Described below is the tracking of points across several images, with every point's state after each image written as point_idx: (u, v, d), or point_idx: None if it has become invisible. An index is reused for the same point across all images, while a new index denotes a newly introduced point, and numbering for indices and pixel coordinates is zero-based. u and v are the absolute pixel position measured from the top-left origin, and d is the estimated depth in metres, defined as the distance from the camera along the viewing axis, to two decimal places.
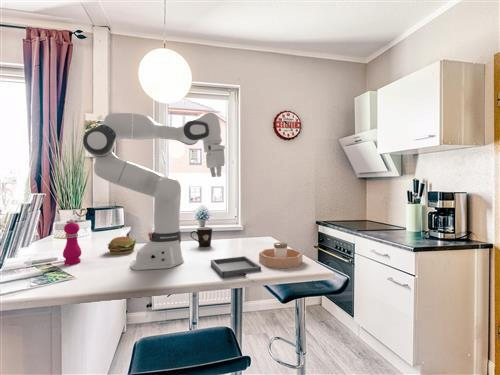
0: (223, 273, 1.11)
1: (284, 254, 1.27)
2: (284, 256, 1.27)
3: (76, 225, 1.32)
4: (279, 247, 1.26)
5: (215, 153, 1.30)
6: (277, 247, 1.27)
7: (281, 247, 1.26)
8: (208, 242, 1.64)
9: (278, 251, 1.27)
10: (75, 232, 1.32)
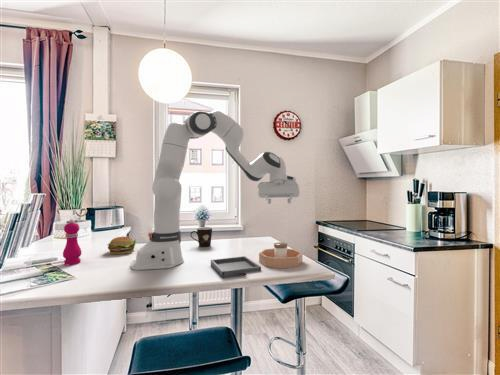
0: (223, 273, 1.11)
1: (284, 254, 1.27)
2: (284, 256, 1.27)
3: (76, 225, 1.32)
4: (279, 247, 1.26)
5: None
6: (277, 247, 1.27)
7: (281, 247, 1.26)
8: (208, 242, 1.64)
9: (278, 251, 1.27)
10: (75, 232, 1.32)
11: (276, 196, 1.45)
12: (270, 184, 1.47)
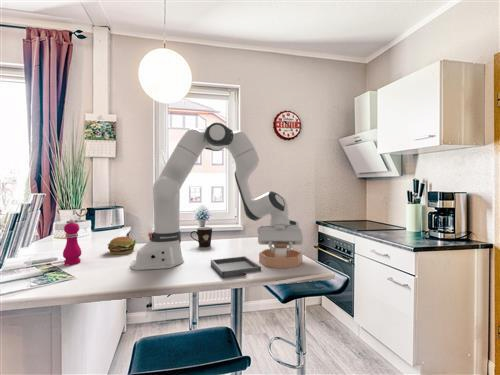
0: (223, 273, 1.11)
1: (284, 254, 1.27)
2: (284, 256, 1.27)
3: (76, 225, 1.32)
4: (279, 247, 1.26)
5: (300, 230, 1.34)
6: (277, 247, 1.27)
7: (281, 247, 1.26)
8: (208, 242, 1.64)
9: (278, 251, 1.27)
10: (75, 232, 1.32)
11: None
12: (271, 229, 1.35)
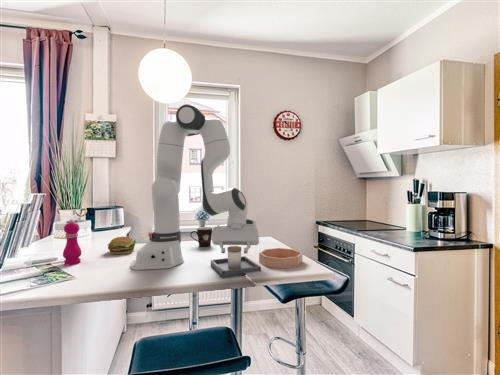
0: (223, 273, 1.11)
1: (237, 258, 1.20)
2: (237, 261, 1.20)
3: (76, 225, 1.32)
4: (232, 251, 1.20)
5: None
6: (230, 251, 1.20)
7: (234, 251, 1.20)
8: (208, 242, 1.64)
9: (231, 255, 1.20)
10: (75, 232, 1.32)
11: (232, 243, 1.26)
12: (226, 229, 1.28)
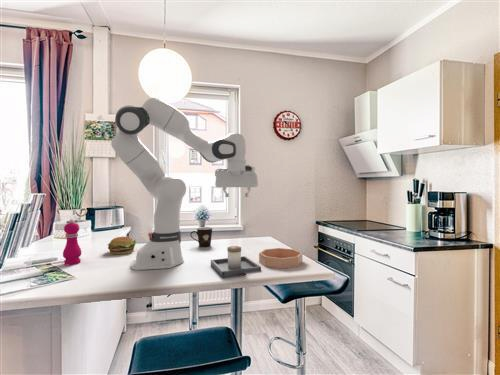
0: (223, 273, 1.11)
1: (237, 258, 1.20)
2: (237, 261, 1.20)
3: (76, 225, 1.32)
4: (232, 251, 1.20)
5: None
6: (230, 251, 1.20)
7: (234, 251, 1.20)
8: (208, 242, 1.64)
9: (231, 255, 1.20)
10: (75, 232, 1.32)
11: None
12: (227, 174, 1.38)
